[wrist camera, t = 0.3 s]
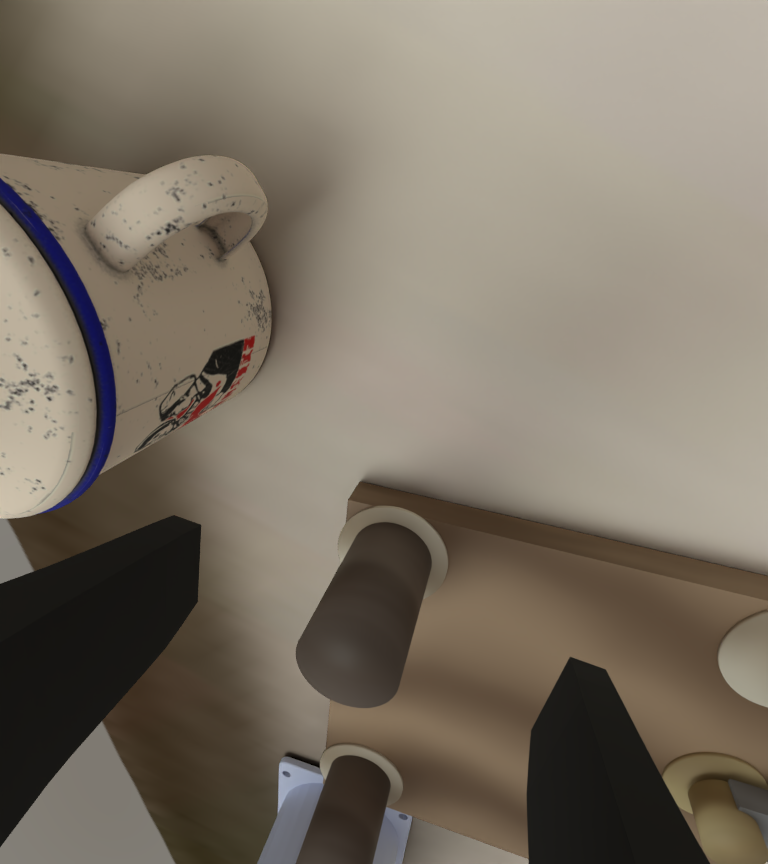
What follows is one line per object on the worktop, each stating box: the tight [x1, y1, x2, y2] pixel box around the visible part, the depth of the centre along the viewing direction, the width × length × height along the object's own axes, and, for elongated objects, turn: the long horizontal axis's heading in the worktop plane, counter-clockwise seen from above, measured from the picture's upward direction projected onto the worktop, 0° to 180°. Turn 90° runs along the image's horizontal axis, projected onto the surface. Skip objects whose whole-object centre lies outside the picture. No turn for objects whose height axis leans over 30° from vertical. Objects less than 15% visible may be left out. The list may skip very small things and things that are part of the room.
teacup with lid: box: [0, 154, 272, 518], centre depth 13 cm, size 12×9×12 cm
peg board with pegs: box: [296, 482, 768, 864], centre depth 19 cm, size 18×18×7 cm
